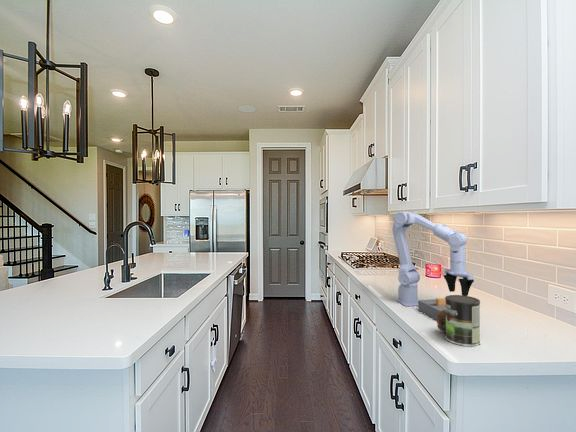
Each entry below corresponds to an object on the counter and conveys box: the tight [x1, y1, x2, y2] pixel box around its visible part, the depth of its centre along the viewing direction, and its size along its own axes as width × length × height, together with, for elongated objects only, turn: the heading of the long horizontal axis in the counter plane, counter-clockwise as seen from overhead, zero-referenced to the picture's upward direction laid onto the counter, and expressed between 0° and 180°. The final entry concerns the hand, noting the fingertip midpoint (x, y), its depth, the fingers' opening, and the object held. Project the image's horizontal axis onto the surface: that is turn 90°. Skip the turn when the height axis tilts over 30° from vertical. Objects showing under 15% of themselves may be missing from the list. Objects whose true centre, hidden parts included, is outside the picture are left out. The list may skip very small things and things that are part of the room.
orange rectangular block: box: [435, 297, 446, 306], centre depth 134 cm, size 11×2×7 cm, turn 96°
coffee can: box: [444, 294, 481, 348], centre depth 107 cm, size 10×10×14 cm
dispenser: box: [417, 298, 446, 321], centre depth 133 cm, size 9×16×4 cm, turn 6°
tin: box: [436, 309, 446, 334], centre depth 115 cm, size 15×3×8 cm, turn 105°
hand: (458, 293), depth 134 cm, fingers open, 7 cm apart
